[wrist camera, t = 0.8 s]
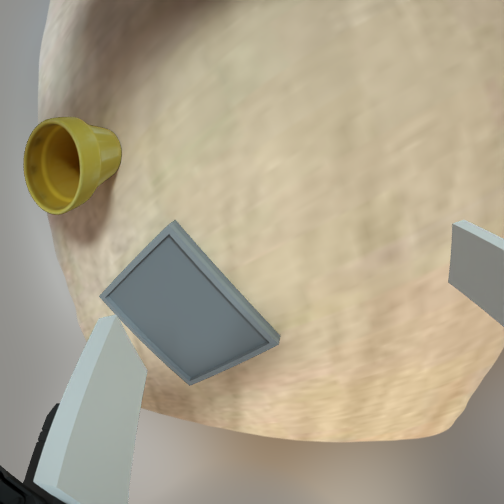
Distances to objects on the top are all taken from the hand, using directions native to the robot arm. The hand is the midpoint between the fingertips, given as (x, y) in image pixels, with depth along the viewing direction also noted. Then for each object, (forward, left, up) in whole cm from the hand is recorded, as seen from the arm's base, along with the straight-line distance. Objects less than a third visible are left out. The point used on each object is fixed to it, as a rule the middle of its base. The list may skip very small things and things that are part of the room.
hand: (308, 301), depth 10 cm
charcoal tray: (+3, -24, -22) cm, 33 cm away
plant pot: (-20, -17, -22) cm, 34 cm away
